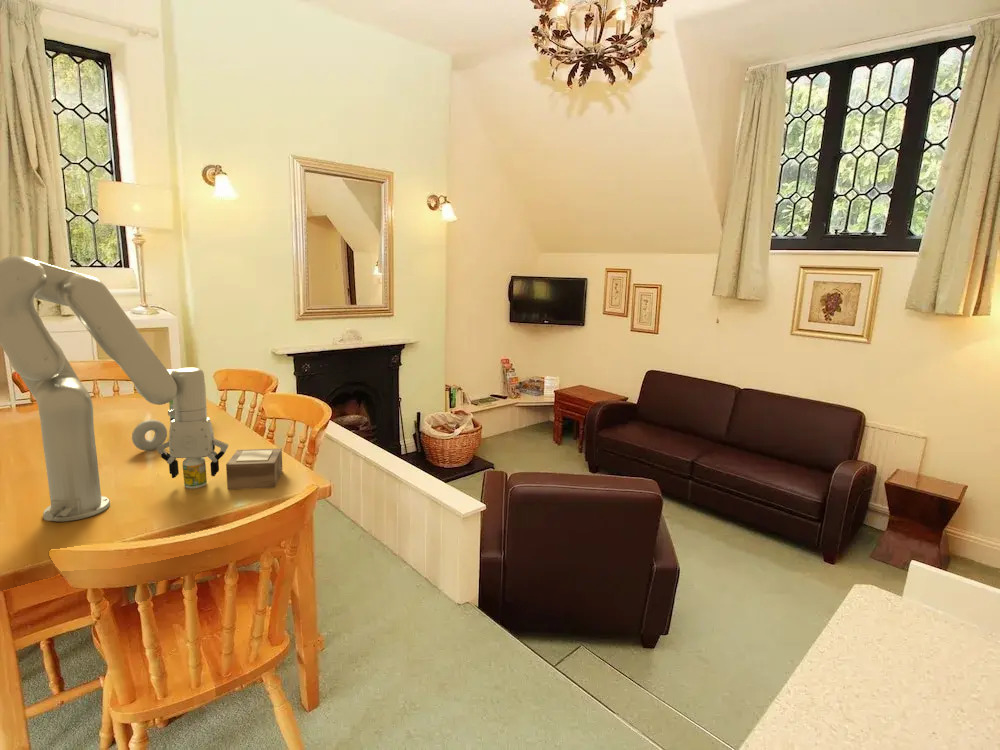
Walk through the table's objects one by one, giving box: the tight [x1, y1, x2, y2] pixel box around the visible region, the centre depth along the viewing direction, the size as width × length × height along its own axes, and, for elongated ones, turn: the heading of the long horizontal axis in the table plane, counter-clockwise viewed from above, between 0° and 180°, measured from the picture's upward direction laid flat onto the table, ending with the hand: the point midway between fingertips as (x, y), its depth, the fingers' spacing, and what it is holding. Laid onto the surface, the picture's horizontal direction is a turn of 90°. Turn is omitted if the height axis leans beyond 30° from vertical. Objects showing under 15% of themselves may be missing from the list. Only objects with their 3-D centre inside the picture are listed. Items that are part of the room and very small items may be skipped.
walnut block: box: [225, 448, 283, 490], centre depth 152 cm, size 12×12×7 cm
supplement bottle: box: [182, 457, 208, 490], centre depth 147 cm, size 5×5×10 cm
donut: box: [131, 419, 168, 452], centre depth 172 cm, size 10×4×10 cm, turn 146°
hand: (194, 475), depth 147 cm, fingers open, 9 cm apart
